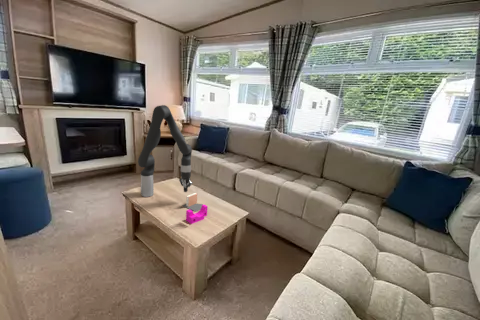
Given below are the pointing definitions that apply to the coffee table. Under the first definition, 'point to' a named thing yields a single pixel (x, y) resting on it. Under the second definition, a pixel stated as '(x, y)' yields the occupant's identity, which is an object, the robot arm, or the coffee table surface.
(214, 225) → the coffee table surface
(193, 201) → the tile
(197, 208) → the mat
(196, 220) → the magenta pipe clamp half
